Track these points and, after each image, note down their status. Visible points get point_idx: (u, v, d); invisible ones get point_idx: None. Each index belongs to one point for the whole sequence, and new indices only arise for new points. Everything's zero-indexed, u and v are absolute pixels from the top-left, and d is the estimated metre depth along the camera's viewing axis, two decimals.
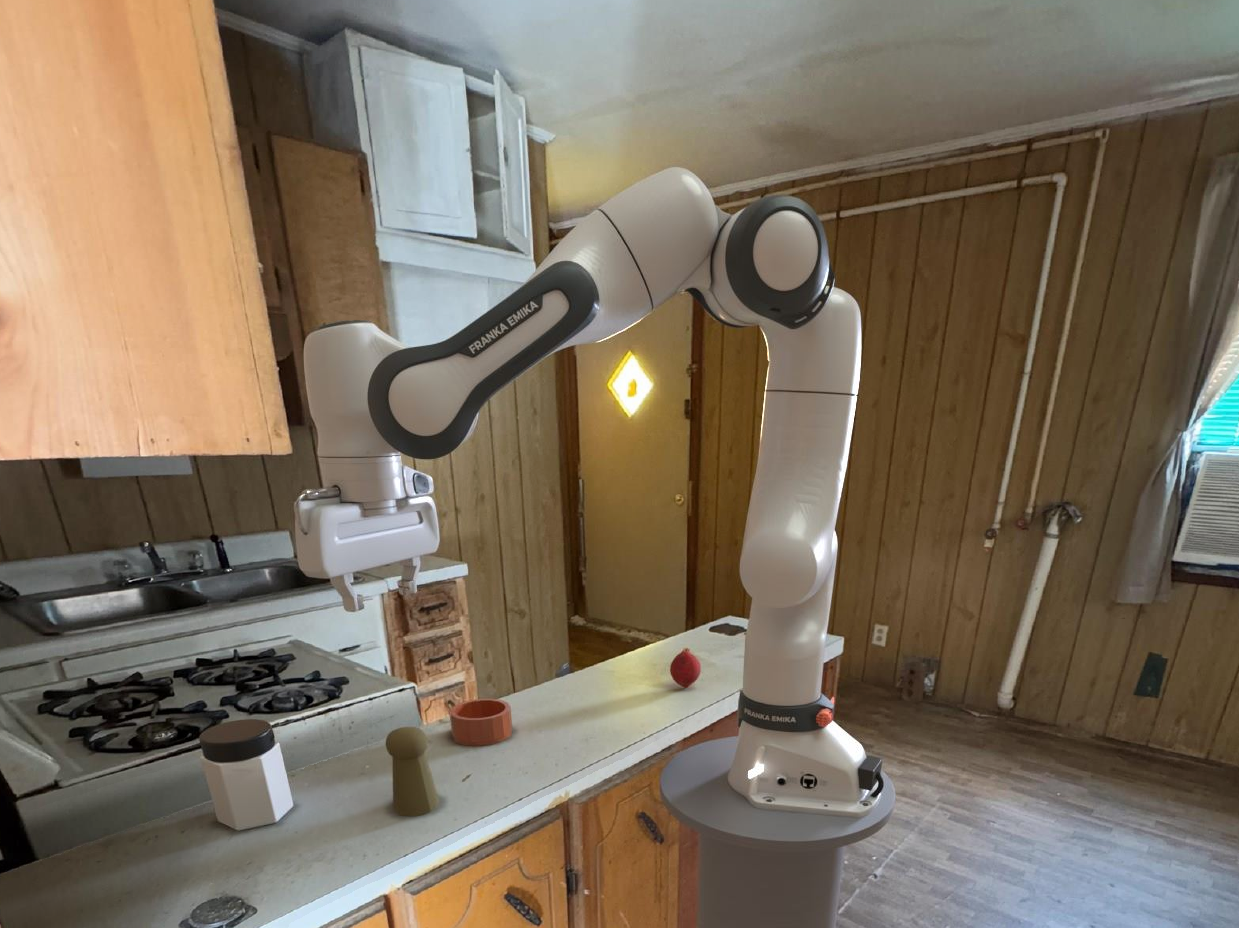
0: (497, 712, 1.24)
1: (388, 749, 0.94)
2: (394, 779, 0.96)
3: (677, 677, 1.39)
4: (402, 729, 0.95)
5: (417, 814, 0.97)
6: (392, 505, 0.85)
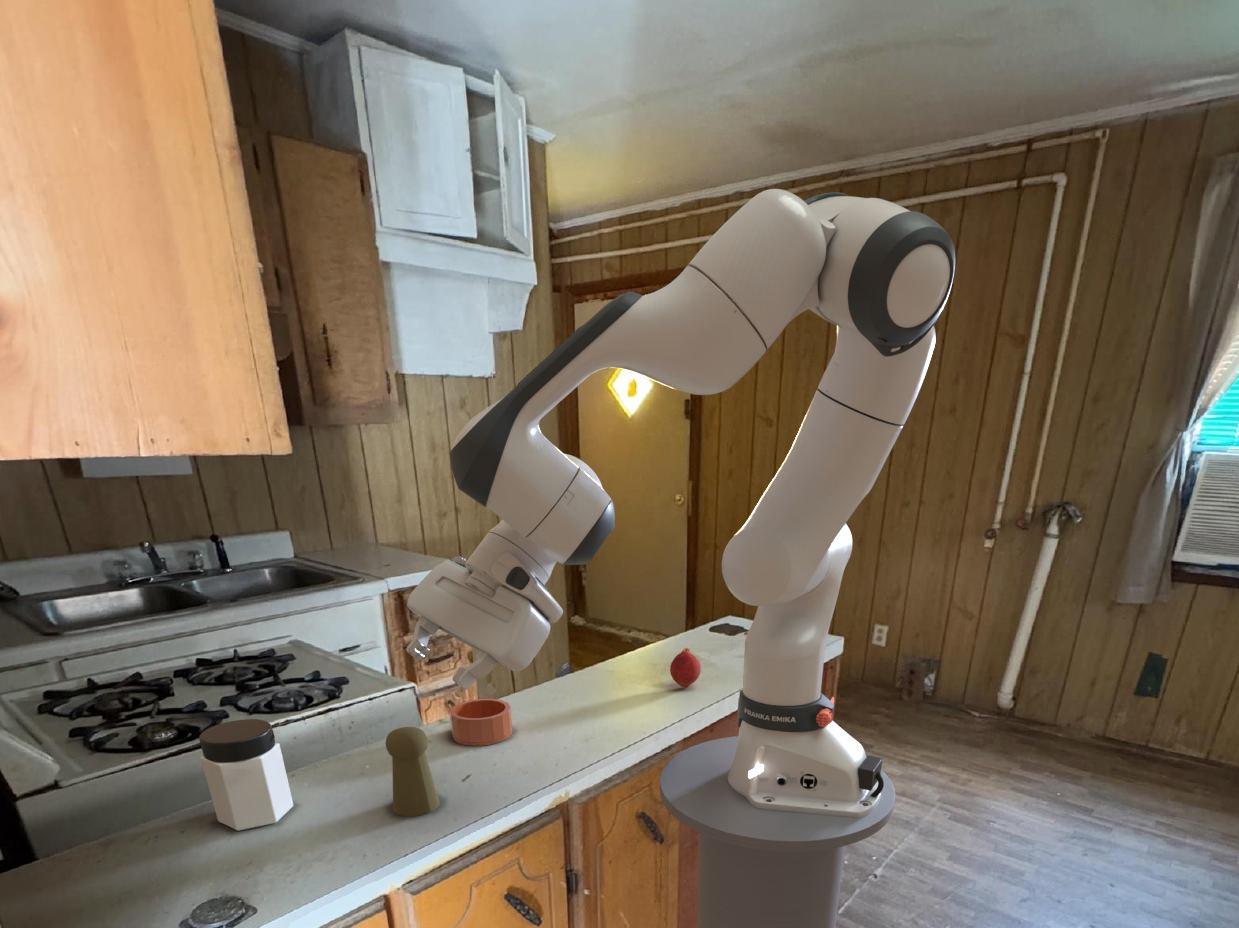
0: (497, 712, 1.24)
1: (388, 749, 0.94)
2: (394, 779, 0.96)
3: (677, 677, 1.39)
4: (402, 729, 0.95)
5: (417, 814, 0.97)
6: (480, 579, 0.85)
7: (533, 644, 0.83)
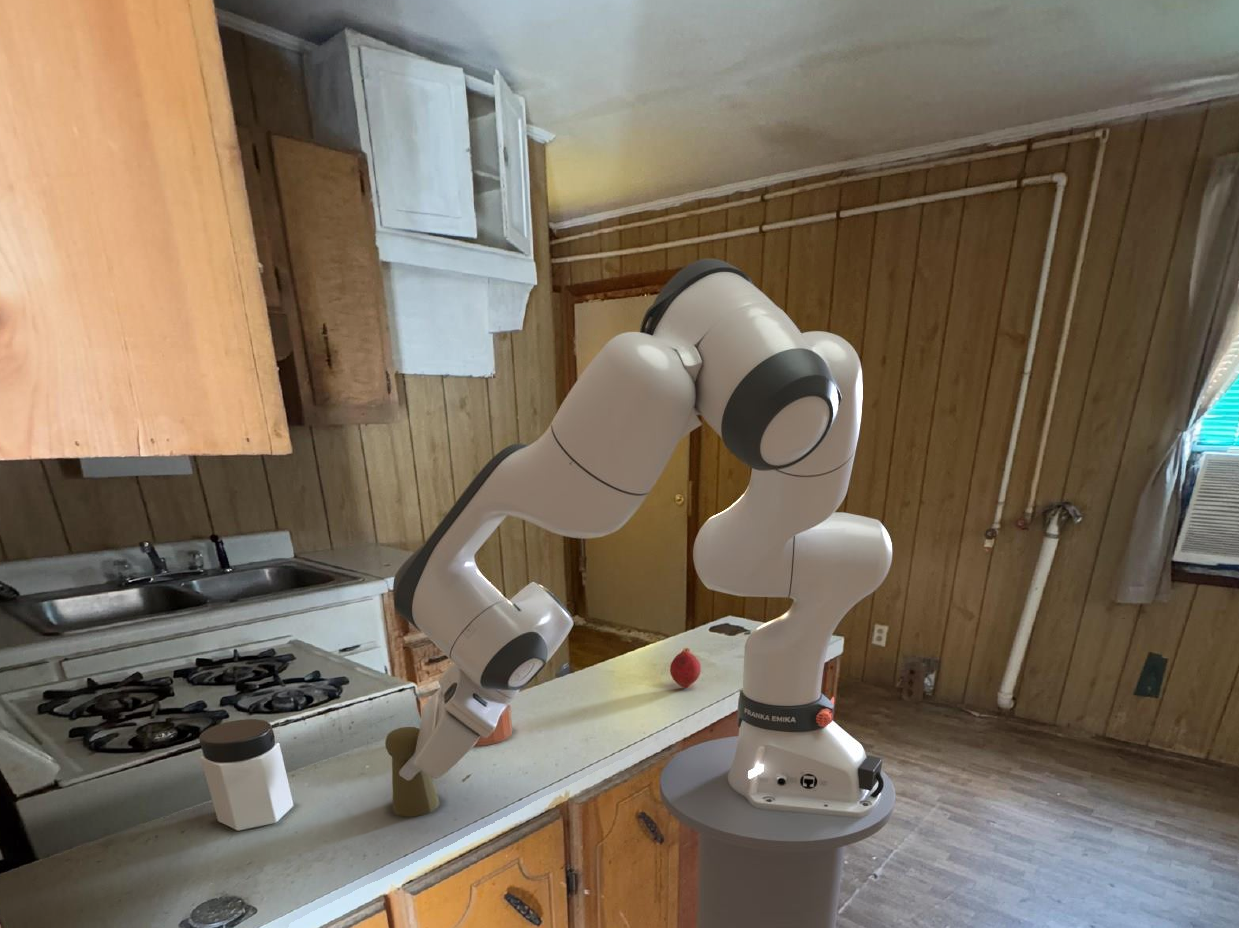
0: None
1: (388, 749, 0.94)
2: (394, 779, 0.96)
3: (677, 677, 1.39)
4: (402, 729, 0.95)
5: (417, 814, 0.97)
6: (442, 692, 0.93)
7: (447, 755, 0.87)
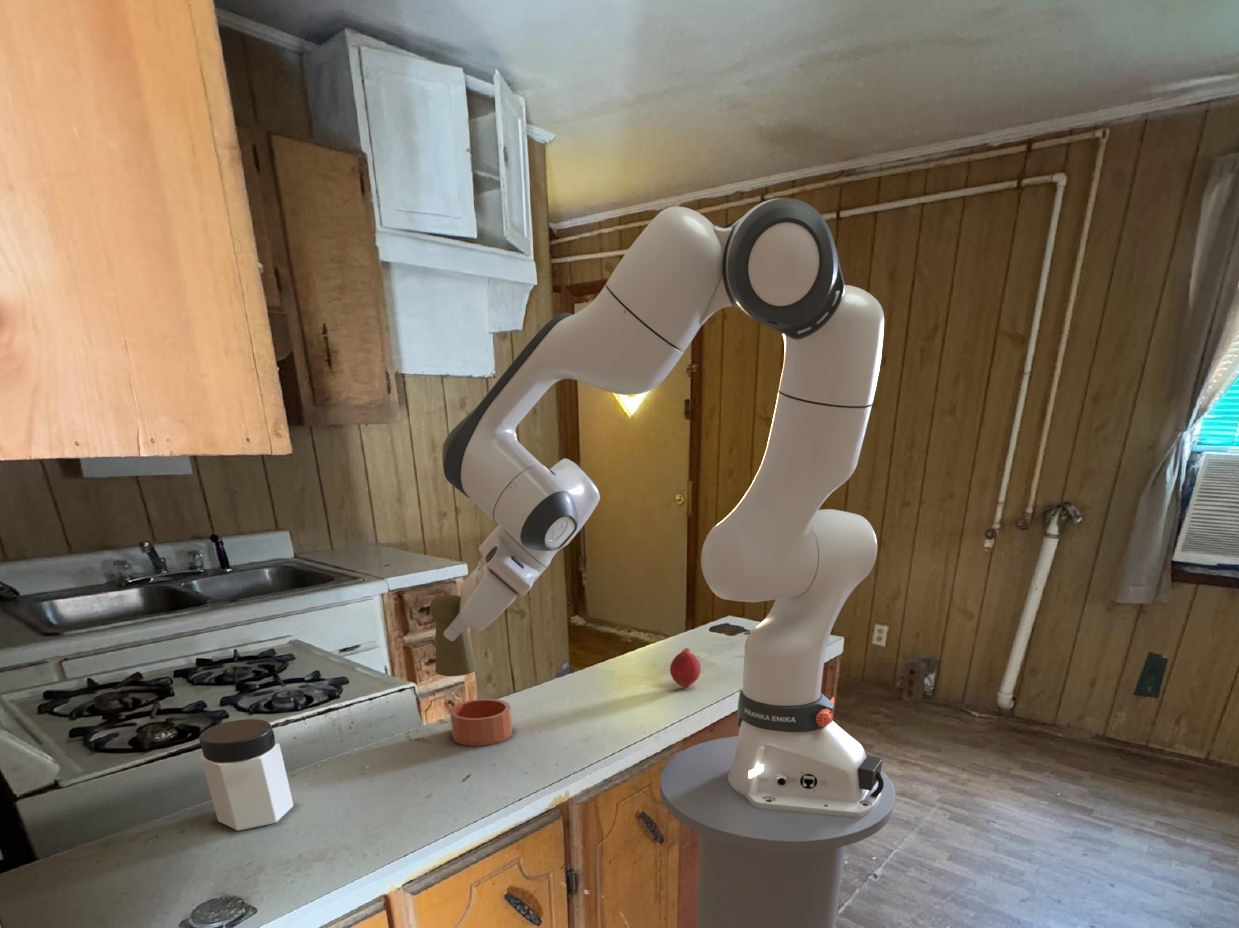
0: (497, 712, 1.24)
1: (433, 612, 1.05)
2: (437, 642, 1.07)
3: (677, 677, 1.39)
4: (445, 596, 1.06)
5: (458, 674, 1.07)
6: (482, 560, 1.04)
7: (489, 608, 0.98)
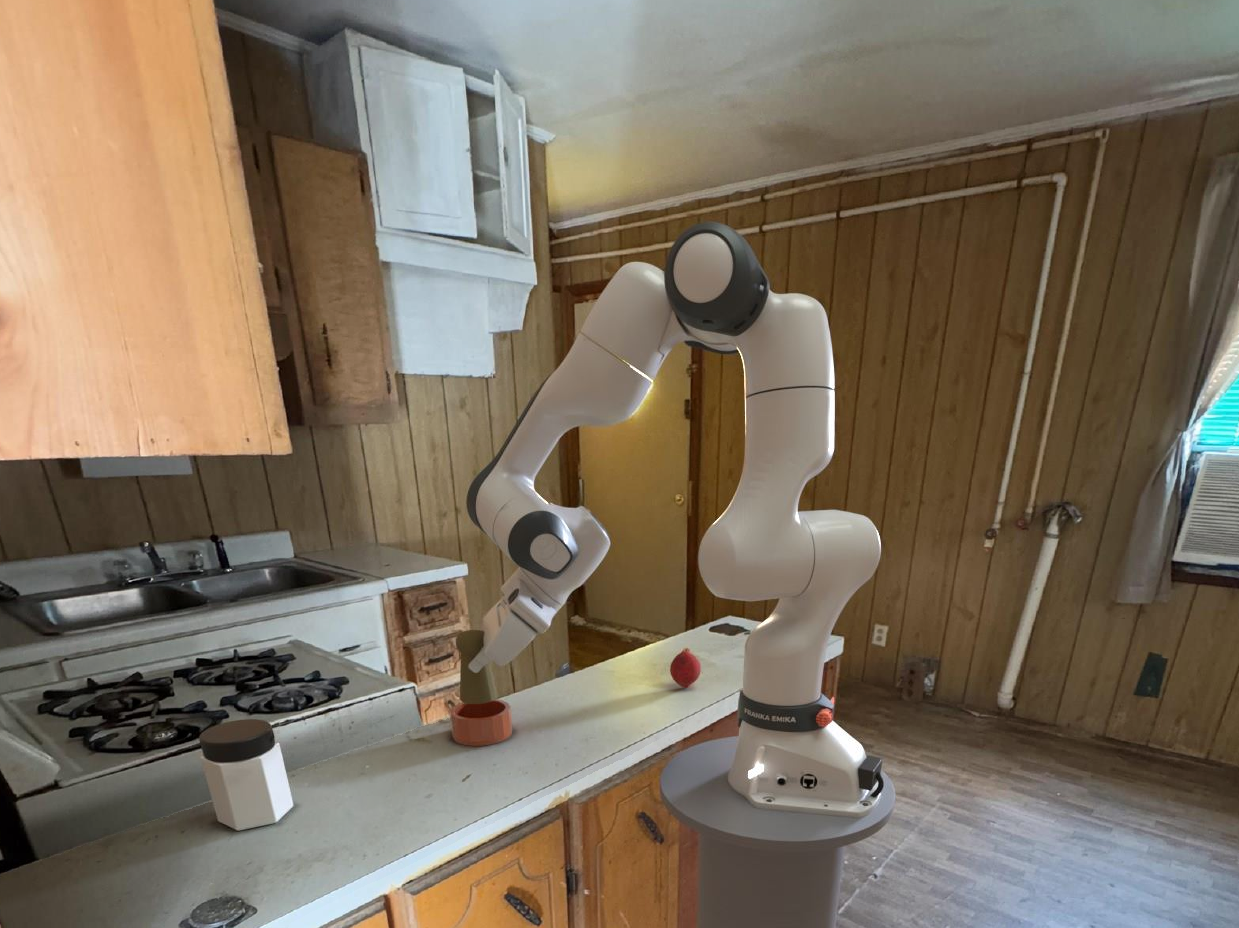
0: (497, 712, 1.24)
1: (458, 646, 1.14)
2: (462, 673, 1.16)
3: (677, 677, 1.39)
4: (469, 631, 1.15)
5: (481, 702, 1.17)
6: (504, 599, 1.13)
7: (512, 646, 1.07)
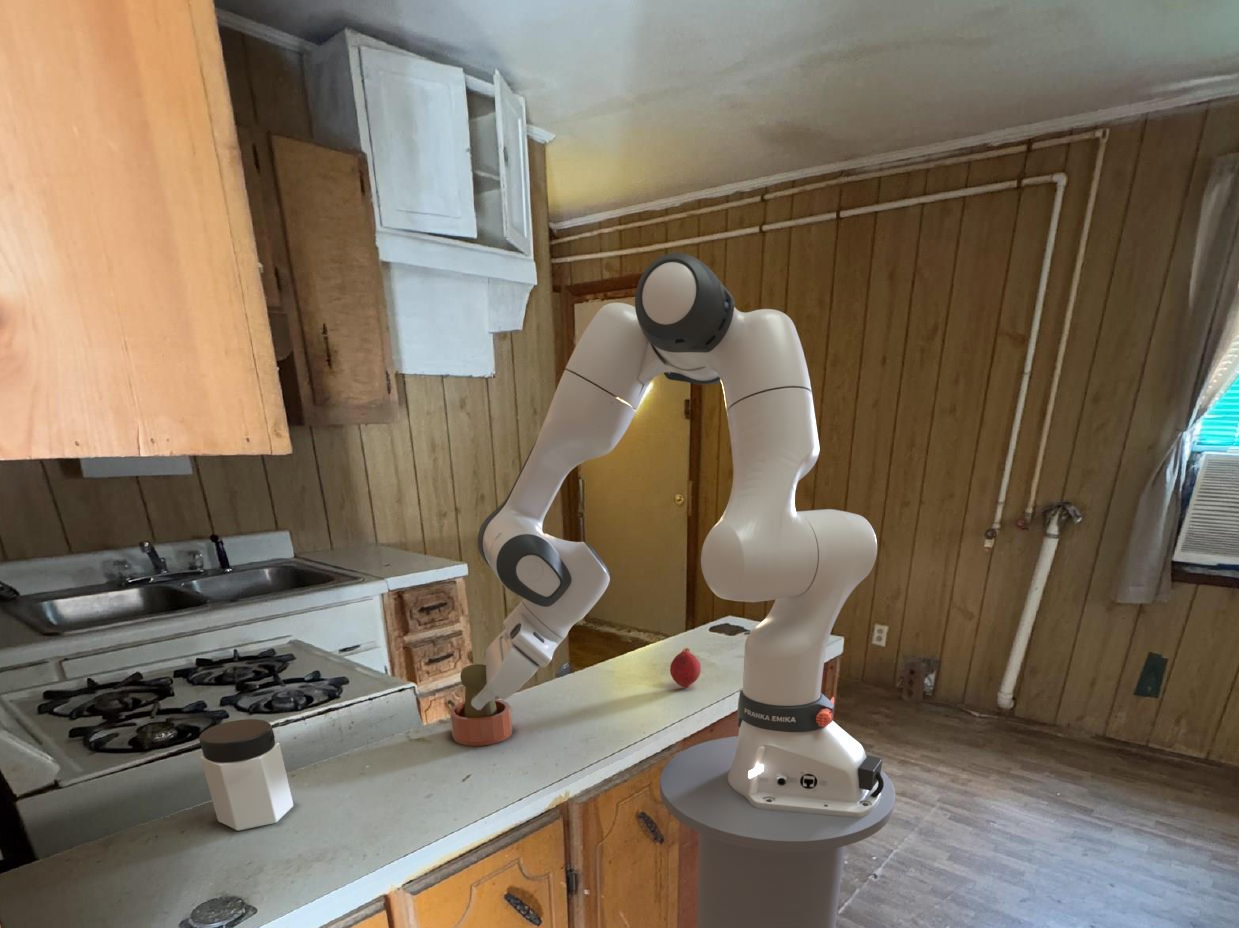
0: None
1: (463, 681, 1.17)
2: (466, 706, 1.19)
3: (677, 677, 1.39)
4: (473, 665, 1.18)
5: None
6: (506, 633, 1.15)
7: (514, 680, 1.09)
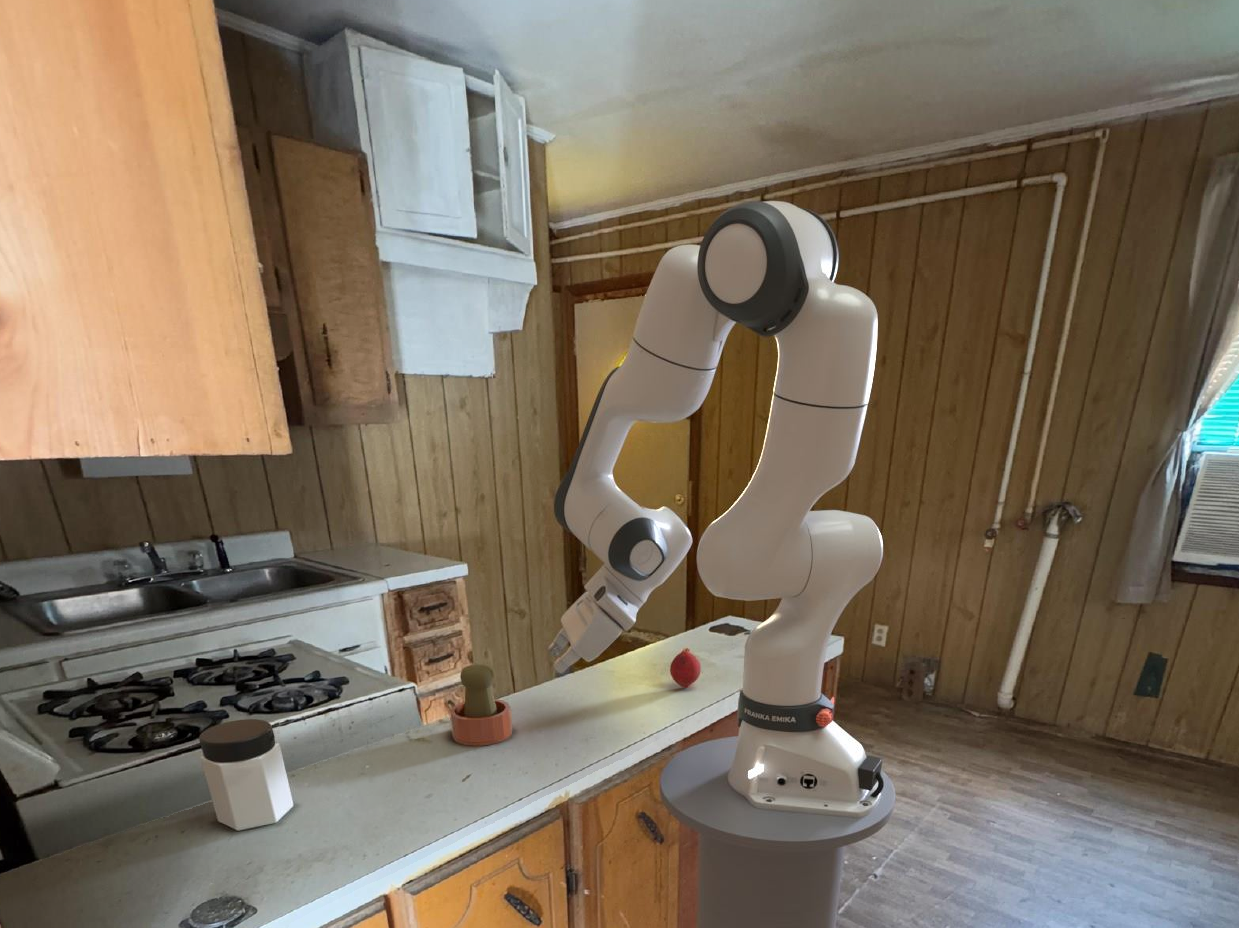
0: None
1: (463, 681, 1.17)
2: (466, 706, 1.19)
3: (677, 677, 1.39)
4: (473, 665, 1.18)
5: None
6: (587, 597, 1.16)
7: (599, 641, 1.10)
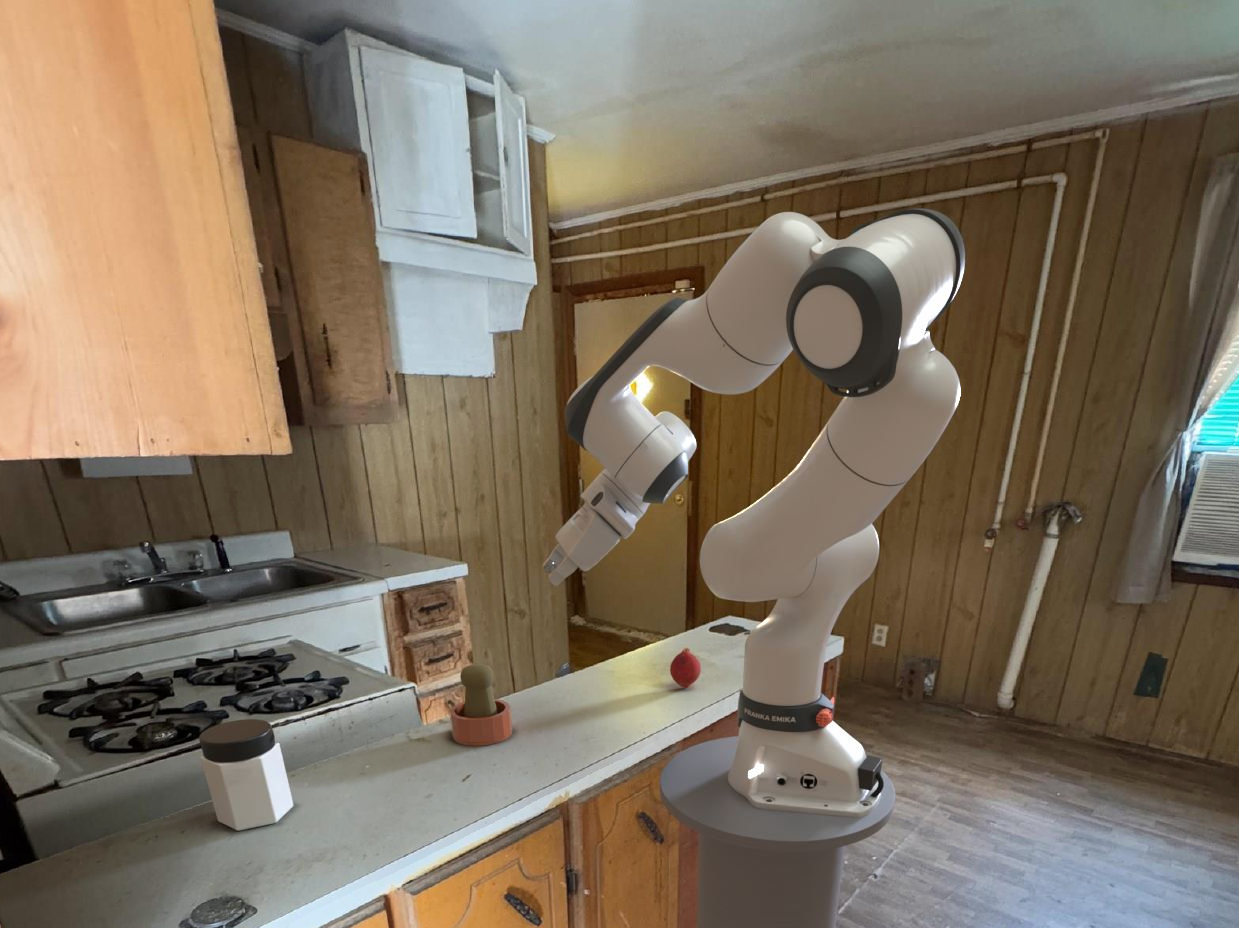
0: None
1: (463, 681, 1.17)
2: (466, 706, 1.19)
3: (677, 677, 1.39)
4: (473, 665, 1.18)
5: None
6: (584, 507, 1.11)
7: (597, 549, 1.04)
